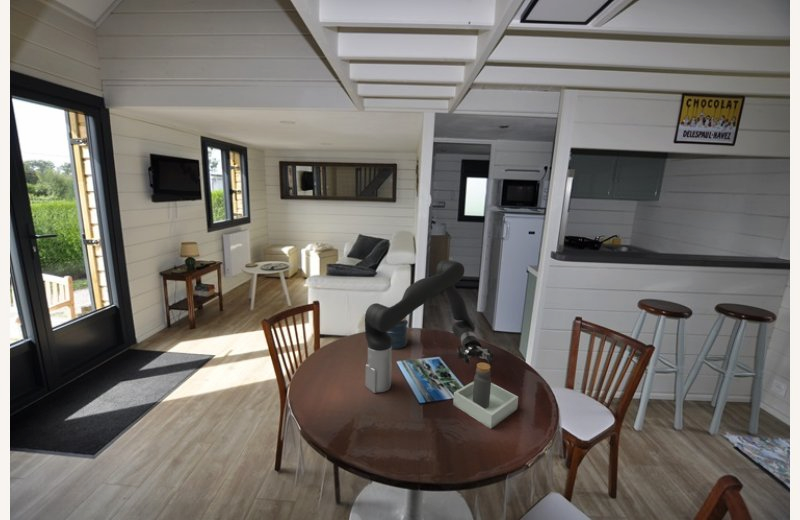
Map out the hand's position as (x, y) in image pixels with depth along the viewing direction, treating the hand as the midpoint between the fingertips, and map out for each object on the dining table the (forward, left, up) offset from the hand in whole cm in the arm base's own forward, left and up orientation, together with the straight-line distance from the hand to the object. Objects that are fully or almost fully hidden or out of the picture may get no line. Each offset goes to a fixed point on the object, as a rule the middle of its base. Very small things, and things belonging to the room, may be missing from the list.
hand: (479, 362), depth 128 cm
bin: (-8, -9, -11) cm, 16 cm away
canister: (-2, +50, -11) cm, 51 cm away
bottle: (-9, -8, -10) cm, 16 cm away
